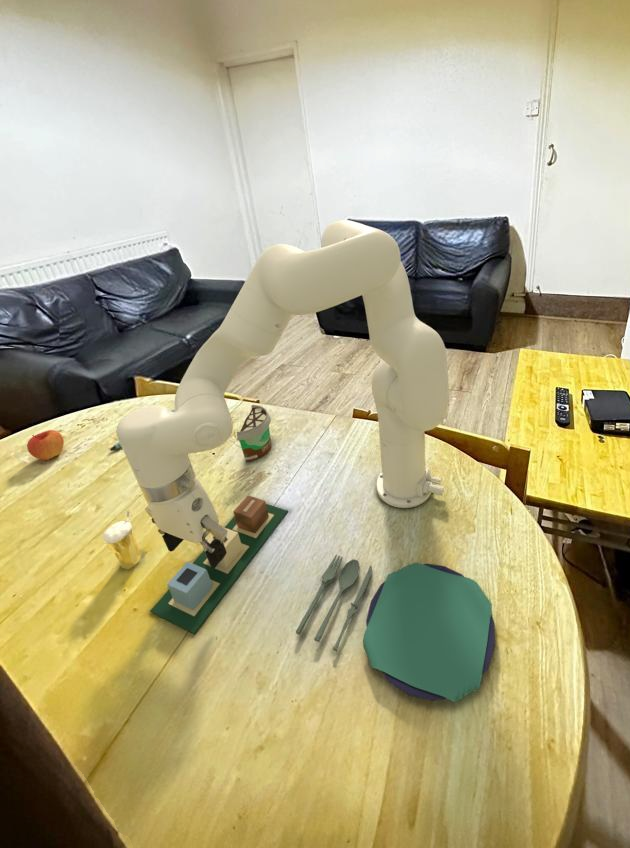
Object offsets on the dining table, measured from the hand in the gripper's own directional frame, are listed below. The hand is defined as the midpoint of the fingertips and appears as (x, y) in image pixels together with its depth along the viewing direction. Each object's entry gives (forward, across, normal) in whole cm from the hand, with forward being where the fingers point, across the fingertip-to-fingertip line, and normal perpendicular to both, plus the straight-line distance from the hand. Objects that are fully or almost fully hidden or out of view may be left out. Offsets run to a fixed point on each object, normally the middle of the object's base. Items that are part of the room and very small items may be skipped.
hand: (197, 552), depth 72 cm
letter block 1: (+6, 0, -4) cm, 8 cm away
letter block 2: (+7, 0, -13) cm, 14 cm away
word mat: (+7, 0, -5) cm, 8 cm away
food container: (+7, +12, -33) cm, 36 cm away
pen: (+7, +49, -28) cm, 57 cm away
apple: (+6, +66, -12) cm, 67 cm away
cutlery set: (+8, -35, -5) cm, 37 cm away
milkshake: (+7, +17, +2) cm, 18 cm away
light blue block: (+6, 0, +3) cm, 7 cm away
